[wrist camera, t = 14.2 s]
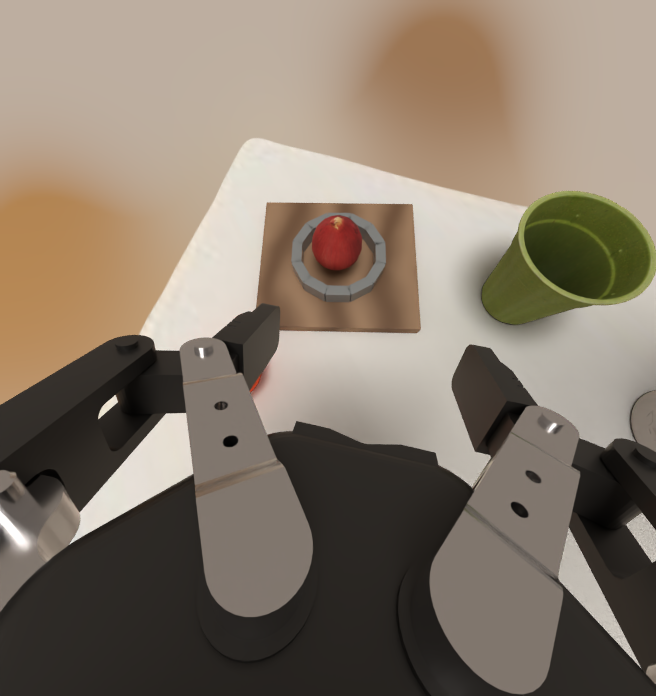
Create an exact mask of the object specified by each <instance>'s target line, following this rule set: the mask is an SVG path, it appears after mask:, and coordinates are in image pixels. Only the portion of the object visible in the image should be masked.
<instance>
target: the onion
mask: <svg viewBox="0 0 656 696" xmlns="http://www.w3.org/2000/svg"><path fill="white" fill-rule="evenodd" d="M361 250H362V235H361V233H360V230H359V228H358V226H357V225H356V223H354V222H353V221H352V220H351V219H350V218H348V217H345V216H342V215H334V216H330V217H328V218H325V219H324V220H323V221H322V222H321V223H319V224H318V226H317V227H316V229H315V232H314V234H313V237H312V251H313V254H314V256H315V258H316V261H318V262H319V263H320V264H321V265H322V266H323V267H325V268H327V269H330V270H342V269H346V268H349V267H350V266H351V265H353V264H354V263H355V262H356V261H357V259H358V257H359V255H360V253H361Z"/></svg>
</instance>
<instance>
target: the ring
mask: <svg viewBox="0 0 656 696" xmlns="http://www.w3.org/2000/svg"><path fill="white" fill-rule="evenodd" d="M334 215H342V216H345V217H348V218H350V219H351V220H352V221H353V222H354V223H356V225H357V226H358V228H359V230H360V233H361V235H362V239H363V240H364V241H365V242H366V244H367V245H368V247H369V248H370V250H371V251H372V253H373V267H372V268H371V270H370V271H369V273H368V275H367V276H366V277H365V278H363V279H361V280H359V281H357V282H355V283H353V284H351V285H349V286H333V285H326V284H324V283H323V282H321V281H319V280H317V279H315V278H313V277H312V276H310V274H309V272H308V271H307V269H306V267H305V266H304V264H303V259H304V252H305V250H306V249H307V248H308V246H309V245H310V243H311V242H312V237H313V234H314V232H315V229H316V227H317V226H318V224H319V223H321V222H322V221H323V220H324V219H325V218H328V217H330V216H334ZM291 263H292V267H293V271H294V273H295V275H296V277H297V278H298V280H299V282H300V283H301V285H302V287H303V289H304V290H305V291H307V292H308V293H310V294H312V295H314V296H315V297H317V298H319V299H321V300H323V301H324V302H325V300H326V302H349V301H350V302H352V301H354V300H356V299H358V298H359V297H361V296H363V295H365V294H367V293H369V292H371V291H372V289H373V288H374V286H375V285H376V283H377V281H378V280H379V278H380V277H381V275H382V273H383V271H384V268H385V265H386V248H385V241H384V239H383V238H382V236H381V235H380V234H379V232H378V231H377V229H376V228H375V226H374V225H373V224H372V223H371V222H369V221H367V220H365V219H362V218H360V217H358V216H356V215H354V214H351V213H328V214H327V213H326V214H323V215H321V216H319V217H317V218H315V219H313V220H311V221H308V222H307V223H305V225H304V226H303V227H302V229H301V230H300V231H299V233H298V234H297V235H296V237H295V238H294V239H293V244H292V259H291Z"/></svg>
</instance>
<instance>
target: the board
mask: <svg viewBox="0 0 656 696" xmlns="http://www.w3.org/2000/svg"><path fill="white" fill-rule="evenodd" d="M326 213H327V214H328V213H351V214H354V215H356V216H358V217H360V218H362V219H365V220H367V221H369V222H371V223H372V224H373V225H374V226H375V228H376V229H377V231H378V232H379V234H380V235H381V236H382V238H383V239H384V241H385V248H386V265H385V268H384V271H383V273H382V275H381V277H380V278H379V280H378V281H377V283H376V285H375V286H374V288H373V289H372V291H371V292H369V293H367V294H365V295H363V296H361V297H359V298H358V299H356V300H354V301H352V302H350V301H349V302H326V300H325V302H324V301H323V300H321V299H319V298H317V297H315V296H314V295H312V294H310V293H308V292H307V291H305V290H304V289H303V287H302V285H301V283H300V282H299V280H298V278H297V277H296V275H295V273H294V271H293V267H292V263H291V259H292V244H293V239H294V238H295V237H296V235H297V234H298V233H299V231H300V230H301V229H302V227H303V226H304V225H305V223H307V222H308V221H311V220H313V219H315V218H317V217H319V216H321V215H323V214H326ZM303 264H304V266H305V267H306V269H307V271H308V272H309V274H310V276H312V277H313V278H315V279H317V280H319V281H321V282H323V283H324V284H326V285H333V286H349V285H351V284H353V283H355V282H357V281H359V280H361V279H363V278H365V277H366V276H367V275H368V273H369V271H370V270H371V268H372V267H373V253H372V251H371V250H370V248H369V247H368V245H367V244H366V242H365V241H364V240H363V239H362V250H361V253H360V255H359V257H358V259H357V261H356V262H355V263H354V264H353V265H351V266H350V267H349V268H346V269H342V270H330V269H327V268H325V267H323V266H322V265H321V264H320V263H319V262H318V261H316V258H315V256H314V254H313V251H312V242H311V243H310V245H309V246H308V248H307V249H306V250H305V252H304V259H303ZM261 303H265V304H270V305H275V306H279V307H280V330H293V331H341V332H390V333H417V332H418V331H419V330H420V329H421V327H420V312H419V296H418V281H417V266H416V251H415V235H414V220H413V205H412V204H343V203H267V206H266V216H265V226H264V236H263V246H262V256H261V266H260V275H259V285H258V295H257V305H256V308H257V307H258V306H259V305H260V304H261Z"/></svg>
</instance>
